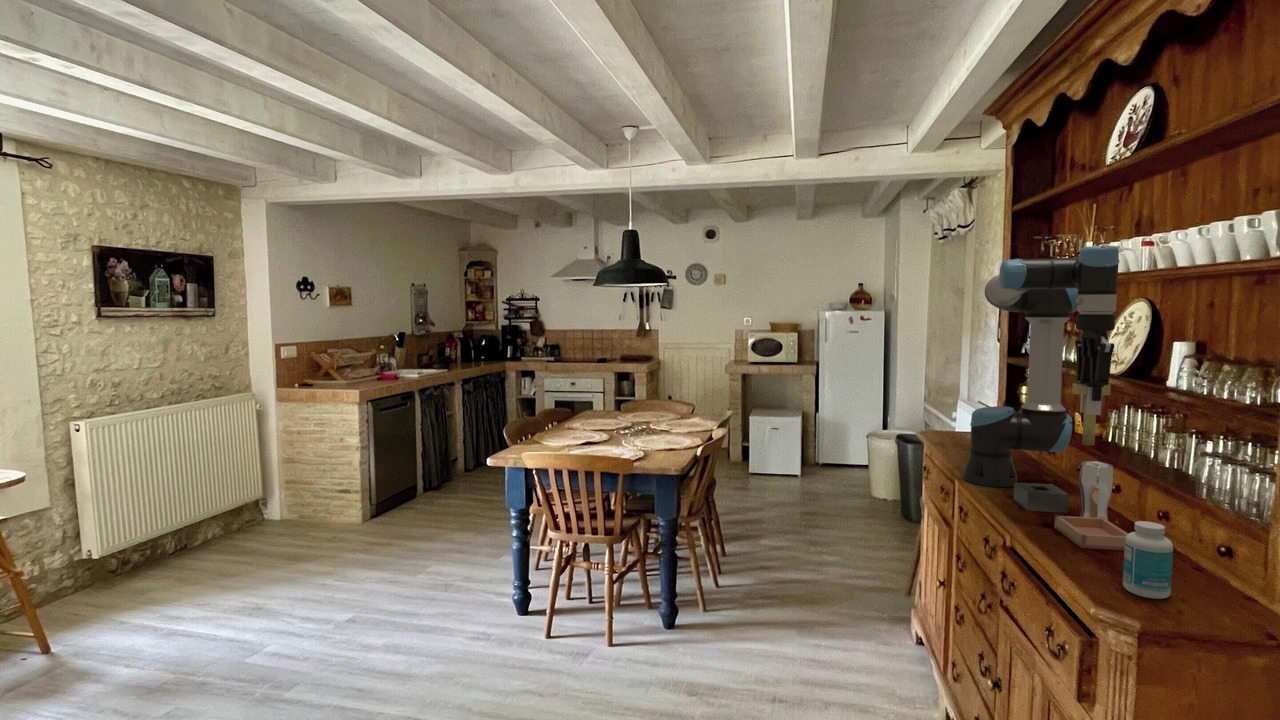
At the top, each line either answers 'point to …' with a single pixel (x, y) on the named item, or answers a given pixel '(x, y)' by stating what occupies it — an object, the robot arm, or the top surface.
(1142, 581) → the pill bottle
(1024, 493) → the grey square block
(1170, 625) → the top surface
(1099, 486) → the beer glass
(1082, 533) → the pale pink tray
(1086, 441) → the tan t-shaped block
